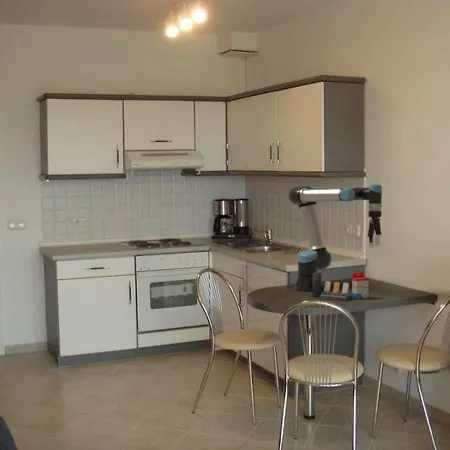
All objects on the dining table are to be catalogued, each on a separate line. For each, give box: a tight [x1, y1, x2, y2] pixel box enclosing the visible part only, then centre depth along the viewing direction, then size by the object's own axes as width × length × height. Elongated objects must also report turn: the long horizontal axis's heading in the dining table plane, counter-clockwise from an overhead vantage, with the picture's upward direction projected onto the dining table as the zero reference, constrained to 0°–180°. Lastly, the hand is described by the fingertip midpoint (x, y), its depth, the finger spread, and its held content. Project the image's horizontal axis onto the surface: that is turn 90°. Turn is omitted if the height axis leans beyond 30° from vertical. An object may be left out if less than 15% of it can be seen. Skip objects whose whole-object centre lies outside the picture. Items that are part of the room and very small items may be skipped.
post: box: [312, 271, 322, 299], centre depth 417 cm, size 5×5×14 cm
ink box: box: [351, 271, 370, 300], centre depth 414 cm, size 8×5×15 cm, turn 116°
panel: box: [318, 292, 353, 302], centre depth 412 cm, size 16×11×3 cm
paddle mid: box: [332, 281, 341, 294], centre depth 413 cm, size 3×2×7 cm, turn 61°
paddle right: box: [341, 282, 350, 295], centre depth 410 cm, size 3×2×7 cm, turn 61°
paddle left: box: [323, 281, 332, 293], centre depth 416 cm, size 3×2×7 cm, turn 61°
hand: (374, 246), depth 426 cm, fingers open, 12 cm apart
